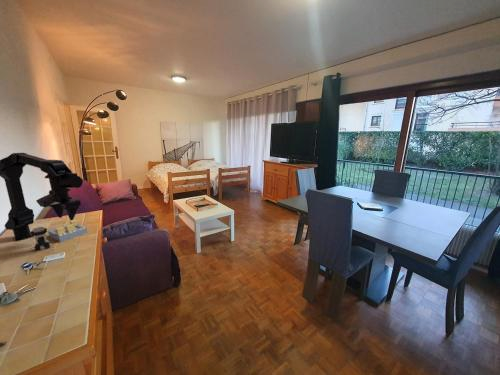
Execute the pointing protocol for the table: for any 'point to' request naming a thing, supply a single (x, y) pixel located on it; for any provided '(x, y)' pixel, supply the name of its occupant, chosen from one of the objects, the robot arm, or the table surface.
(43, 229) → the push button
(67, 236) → the switch unit
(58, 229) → the slider
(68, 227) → the slider
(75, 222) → the slider
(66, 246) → the table surface
